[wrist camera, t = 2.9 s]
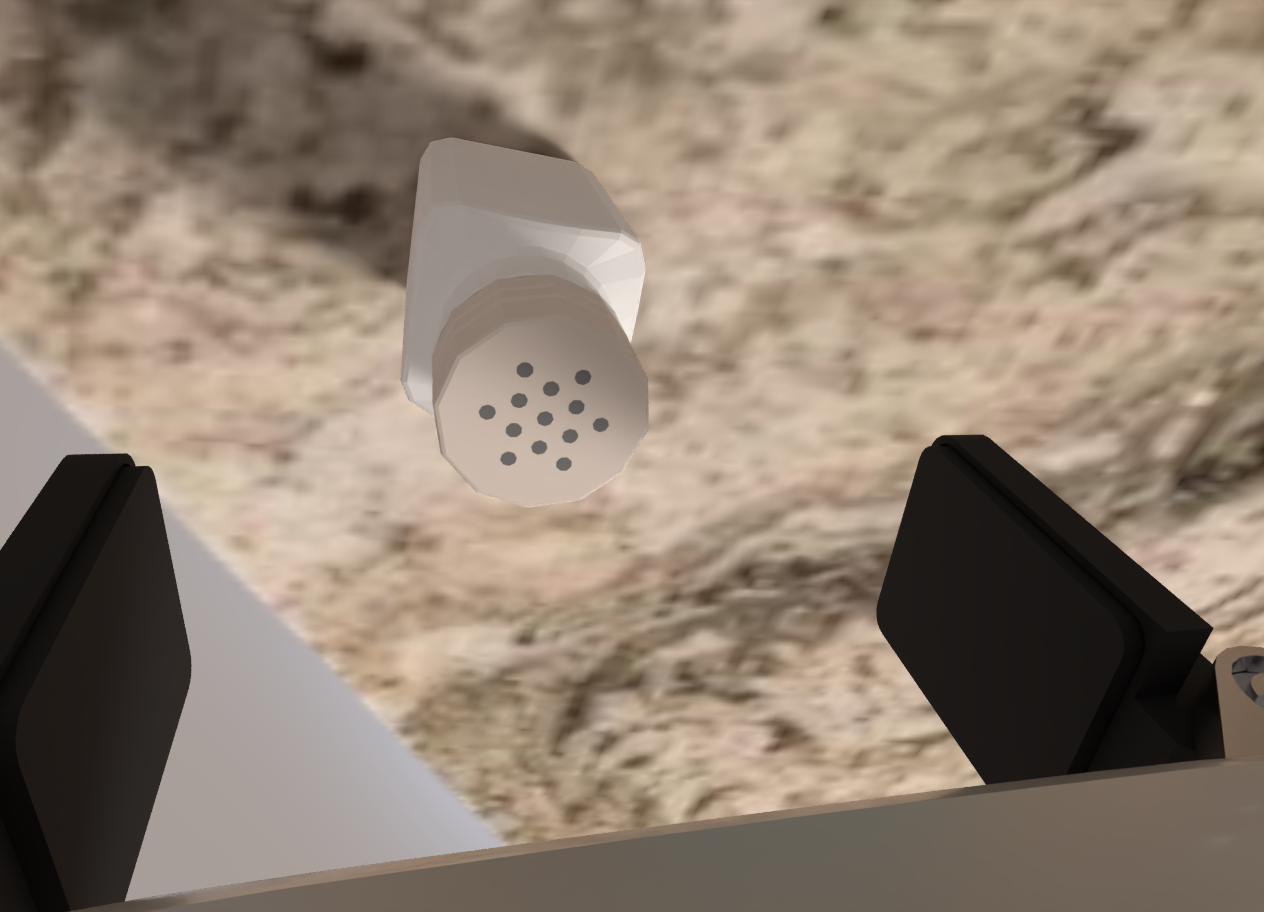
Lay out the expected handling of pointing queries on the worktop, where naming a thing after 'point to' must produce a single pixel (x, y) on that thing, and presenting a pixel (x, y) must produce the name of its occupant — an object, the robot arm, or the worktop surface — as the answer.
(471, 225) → the pepper shaker
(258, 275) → the worktop surface
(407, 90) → the worktop surface
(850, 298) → the worktop surface
